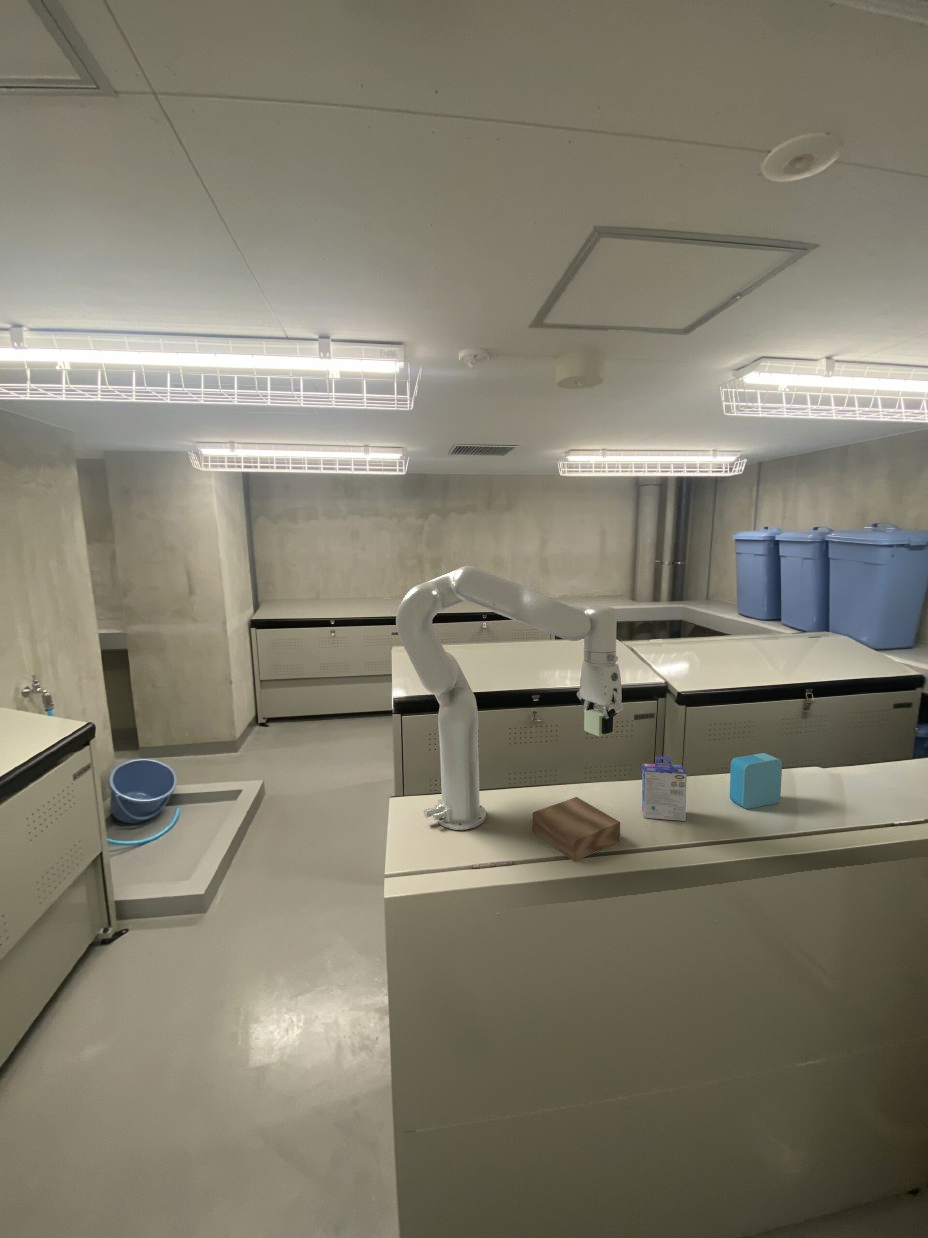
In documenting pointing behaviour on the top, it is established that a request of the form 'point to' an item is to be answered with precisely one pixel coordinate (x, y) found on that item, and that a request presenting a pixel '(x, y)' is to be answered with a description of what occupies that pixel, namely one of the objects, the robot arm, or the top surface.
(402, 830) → the top surface
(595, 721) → the sage cube
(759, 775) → the blue rounded block
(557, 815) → the walnut block
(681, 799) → the ink cartridge box
